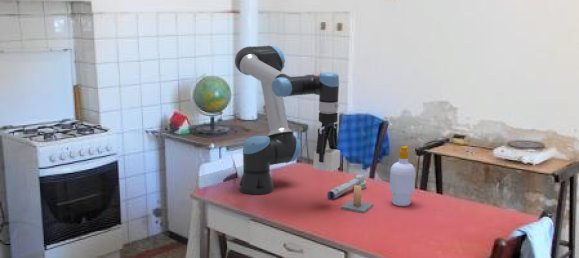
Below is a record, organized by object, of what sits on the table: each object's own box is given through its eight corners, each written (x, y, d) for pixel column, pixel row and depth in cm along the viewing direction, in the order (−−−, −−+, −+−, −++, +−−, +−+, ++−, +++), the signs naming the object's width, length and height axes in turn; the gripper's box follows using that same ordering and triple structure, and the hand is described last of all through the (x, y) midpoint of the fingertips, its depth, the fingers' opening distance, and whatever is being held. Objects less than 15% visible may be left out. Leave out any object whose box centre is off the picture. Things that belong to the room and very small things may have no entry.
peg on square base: (340, 209, 240) (341, 187, 238) (350, 202, 248) (351, 181, 246) (363, 213, 235) (364, 191, 233) (373, 206, 244) (373, 185, 242)
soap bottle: (418, 203, 247) (421, 147, 242) (405, 209, 240) (408, 151, 235) (397, 198, 254) (400, 143, 249) (383, 203, 247) (386, 147, 242)
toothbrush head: (325, 189, 253) (358, 170, 271) (326, 204, 255) (359, 184, 273) (335, 192, 249) (368, 172, 267) (336, 206, 251) (368, 186, 269)
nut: (313, 168, 239) (313, 151, 238) (321, 164, 246) (322, 147, 245) (331, 171, 235) (331, 154, 234) (339, 167, 242) (340, 150, 241)
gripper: (325, 117, 225) (323, 174, 230) (347, 109, 243) (345, 162, 248) (307, 115, 229) (306, 171, 234) (330, 107, 247) (329, 160, 251)
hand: (326, 167), depth 241 cm, fingers closed on nut, 8 cm apart
